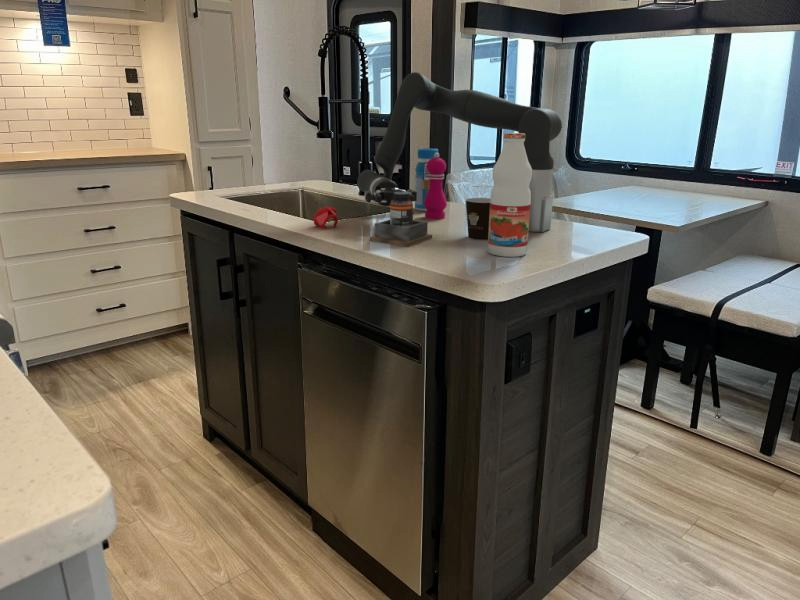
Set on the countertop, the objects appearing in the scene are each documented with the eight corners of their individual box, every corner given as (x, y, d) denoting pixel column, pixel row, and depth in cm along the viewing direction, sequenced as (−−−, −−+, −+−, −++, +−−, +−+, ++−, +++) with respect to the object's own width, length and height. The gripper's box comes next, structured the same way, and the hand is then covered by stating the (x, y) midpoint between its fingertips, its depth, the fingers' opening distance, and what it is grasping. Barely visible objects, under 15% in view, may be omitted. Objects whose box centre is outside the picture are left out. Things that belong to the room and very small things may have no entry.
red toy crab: (345, 216, 176) (334, 203, 179) (333, 211, 171) (321, 198, 174) (329, 237, 179) (318, 224, 182) (316, 233, 174) (305, 220, 177)
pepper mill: (446, 219, 190) (449, 153, 184) (423, 219, 190) (425, 153, 184) (445, 215, 197) (447, 151, 191) (423, 215, 197) (424, 151, 191)
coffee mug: (458, 235, 168) (459, 198, 165) (485, 233, 171) (487, 197, 168) (480, 244, 158) (482, 205, 155) (508, 241, 161) (511, 203, 158)
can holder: (432, 238, 164) (432, 221, 162) (408, 246, 154) (409, 229, 153) (394, 233, 170) (394, 217, 168) (369, 240, 160) (369, 223, 159)
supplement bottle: (401, 232, 166) (402, 190, 162) (417, 235, 162) (418, 192, 158) (385, 235, 162) (385, 192, 158) (401, 239, 158) (401, 194, 154)
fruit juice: (526, 249, 152) (535, 132, 144) (527, 258, 144) (536, 134, 135) (488, 247, 154) (494, 132, 145) (486, 256, 145) (493, 133, 136)
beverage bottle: (409, 209, 208) (410, 148, 201) (422, 206, 214) (424, 147, 208) (430, 212, 203) (432, 150, 197) (443, 209, 210) (445, 148, 203)
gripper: (359, 178, 178) (369, 186, 163) (407, 178, 181) (421, 185, 166) (360, 204, 180) (369, 214, 165) (407, 203, 183) (421, 212, 168)
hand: (395, 199), depth 165 cm, fingers open, 8 cm apart
